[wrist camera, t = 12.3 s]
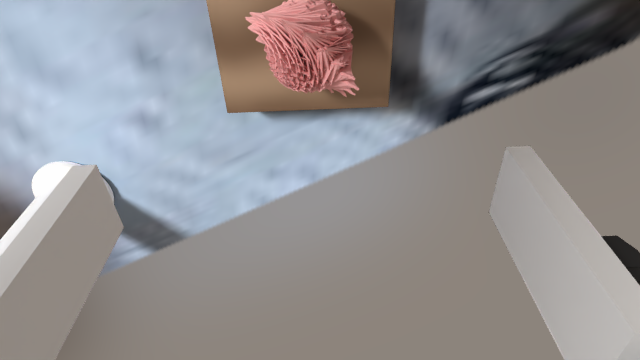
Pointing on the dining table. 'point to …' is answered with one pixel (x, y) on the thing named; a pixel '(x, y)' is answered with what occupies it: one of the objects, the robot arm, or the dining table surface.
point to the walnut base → (258, 81)
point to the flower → (307, 45)
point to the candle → (41, 196)
